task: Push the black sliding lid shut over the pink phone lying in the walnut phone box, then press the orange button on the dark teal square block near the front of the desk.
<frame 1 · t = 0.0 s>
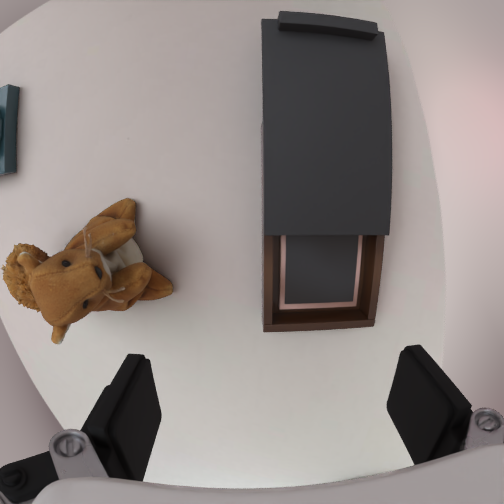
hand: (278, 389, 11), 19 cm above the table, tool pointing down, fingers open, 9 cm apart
lid: (333, 120, 22), point 5 cm above the table, slide at 9.0 cm
stuffed squirrel: (104, 259, 30), on the table
phone box: (319, 226, 29), on the table
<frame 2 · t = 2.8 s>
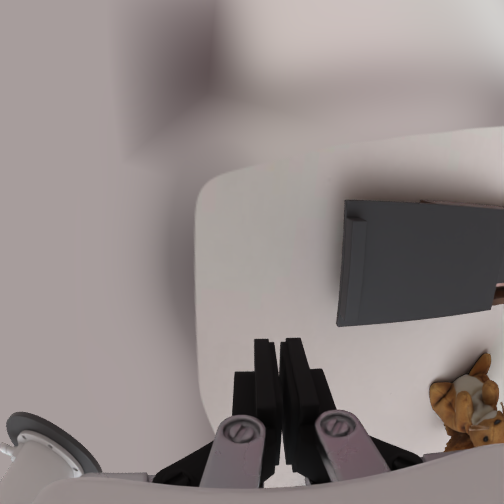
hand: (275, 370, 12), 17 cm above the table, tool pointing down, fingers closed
lid: (439, 266, 24), point 5 cm above the table, slide at 9.0 cm
stuffed squirrel: (454, 396, 34), on the table
phone box: (478, 252, 29), on the table
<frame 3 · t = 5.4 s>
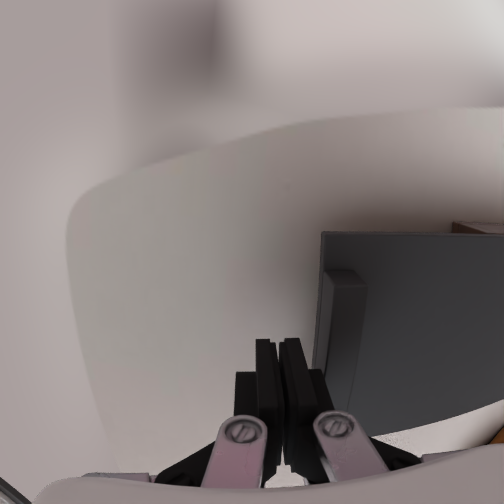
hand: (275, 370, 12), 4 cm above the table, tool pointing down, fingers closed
lid: (488, 344, 12), point 5 cm above the table, slide at 8.5 cm, touching gripper
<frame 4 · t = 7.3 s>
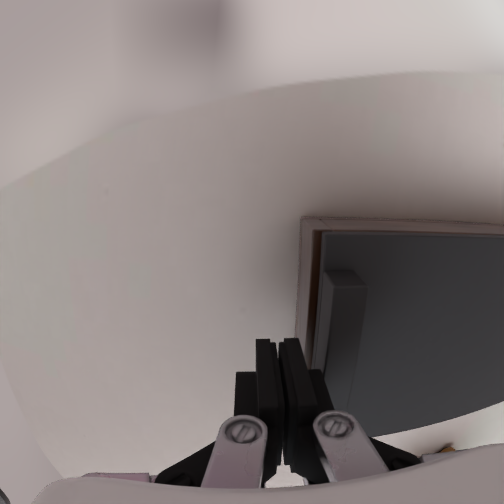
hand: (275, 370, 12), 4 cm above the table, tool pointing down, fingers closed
lid: (489, 346, 12), point 5 cm above the table, slide at -0.3 cm, touching gripper
phone box: (443, 310, 16), on the table
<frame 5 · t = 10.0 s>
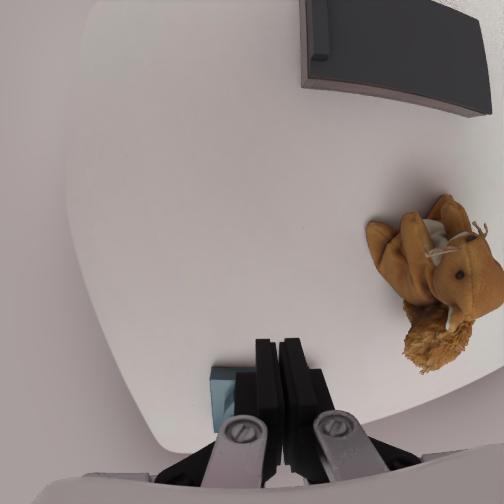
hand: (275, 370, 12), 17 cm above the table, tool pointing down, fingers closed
lid: (414, 35, 19), point 5 cm above the table, slide at 0.0 cm
stuffed squirrel: (413, 264, 29), on the table
phone box: (393, 50, 23), on the table
dark teal square block: (259, 396, 32), on the table
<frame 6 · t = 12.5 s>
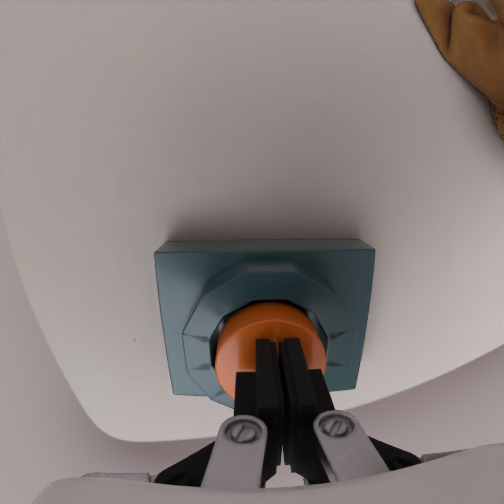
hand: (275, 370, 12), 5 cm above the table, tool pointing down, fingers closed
stuffed squirrel: (490, 75, 13), on the table
button: (269, 357, 13), point 4 cm above the table, slide at 0.0 cm, touching gripper
dark teal square block: (264, 313, 17), on the table
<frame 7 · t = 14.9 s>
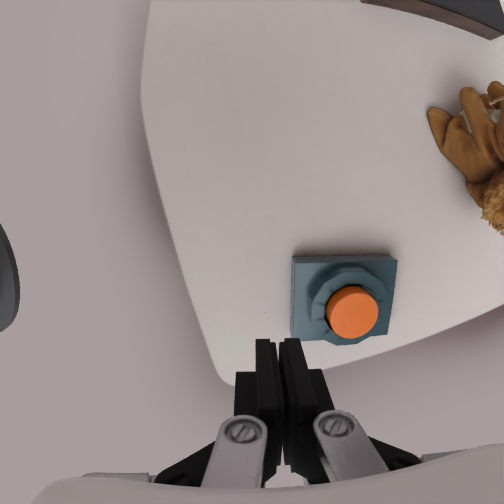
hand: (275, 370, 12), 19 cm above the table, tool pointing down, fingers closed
stuffed squirrel: (468, 153, 27), on the table
button: (352, 312, 27), point 4 cm above the table, slide at 0.1 cm
dark teal square block: (340, 293, 31), on the table
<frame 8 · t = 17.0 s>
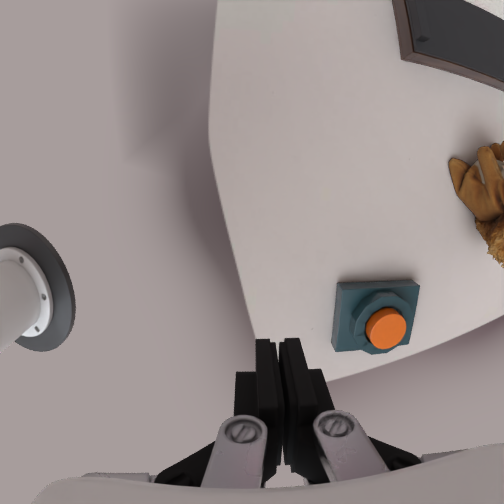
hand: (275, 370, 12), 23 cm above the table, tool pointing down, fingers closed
lid: (472, 31, 23), point 5 cm above the table, slide at 0.0 cm
stuffed squirrel: (478, 195, 33), on the table
button: (386, 328, 32), point 4 cm above the table, slide at 0.1 cm
phone box: (453, 40, 28), on the table
dark teal square block: (372, 311, 37), on the table
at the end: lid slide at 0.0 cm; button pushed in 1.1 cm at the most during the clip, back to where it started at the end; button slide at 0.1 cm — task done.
